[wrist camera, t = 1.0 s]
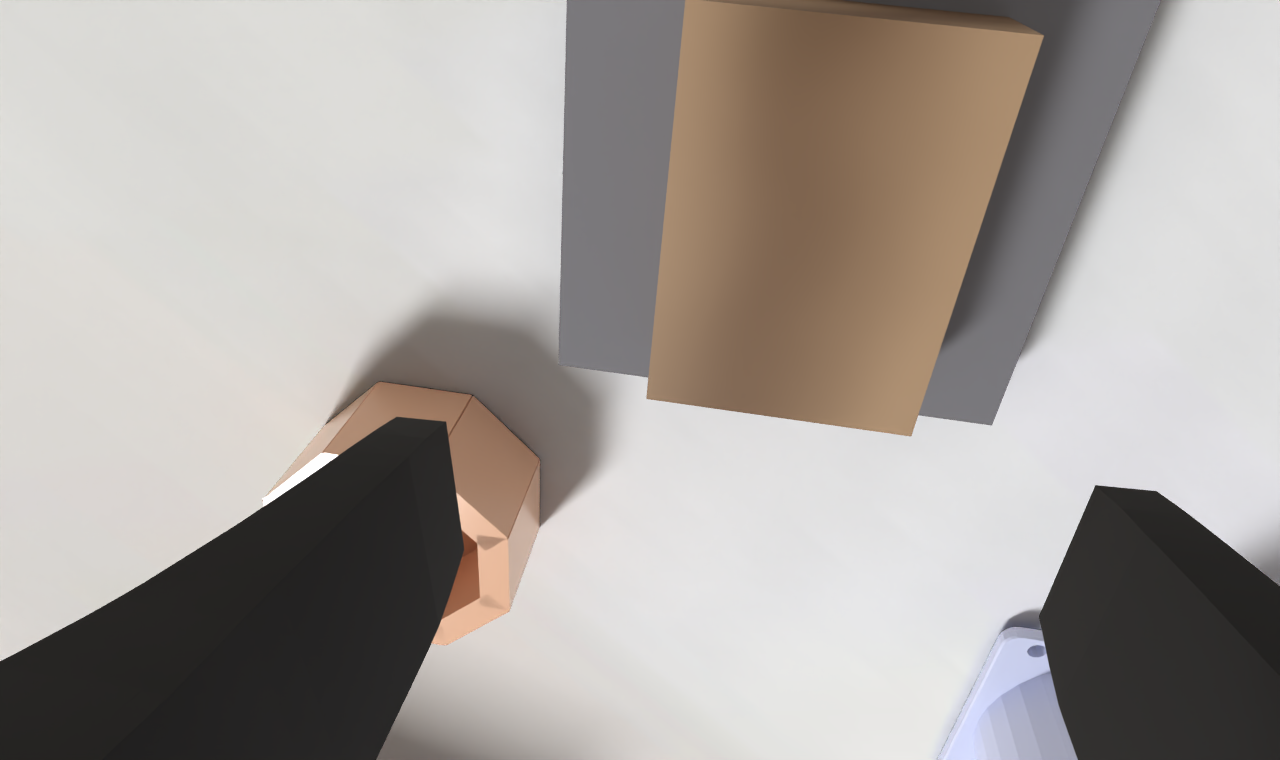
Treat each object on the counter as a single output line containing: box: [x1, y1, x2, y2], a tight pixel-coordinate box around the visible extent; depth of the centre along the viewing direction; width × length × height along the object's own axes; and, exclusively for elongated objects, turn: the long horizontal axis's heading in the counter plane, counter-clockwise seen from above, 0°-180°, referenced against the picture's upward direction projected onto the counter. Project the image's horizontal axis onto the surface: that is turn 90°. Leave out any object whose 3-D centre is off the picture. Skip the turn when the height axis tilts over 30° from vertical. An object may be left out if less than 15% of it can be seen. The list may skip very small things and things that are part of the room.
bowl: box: [263, 382, 540, 645], centre depth 22 cm, size 6×6×3 cm
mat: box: [559, 0, 1161, 425], centre depth 16 cm, size 10×9×2 cm
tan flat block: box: [646, 0, 1044, 436], centre depth 15 cm, size 5×8×2 cm
